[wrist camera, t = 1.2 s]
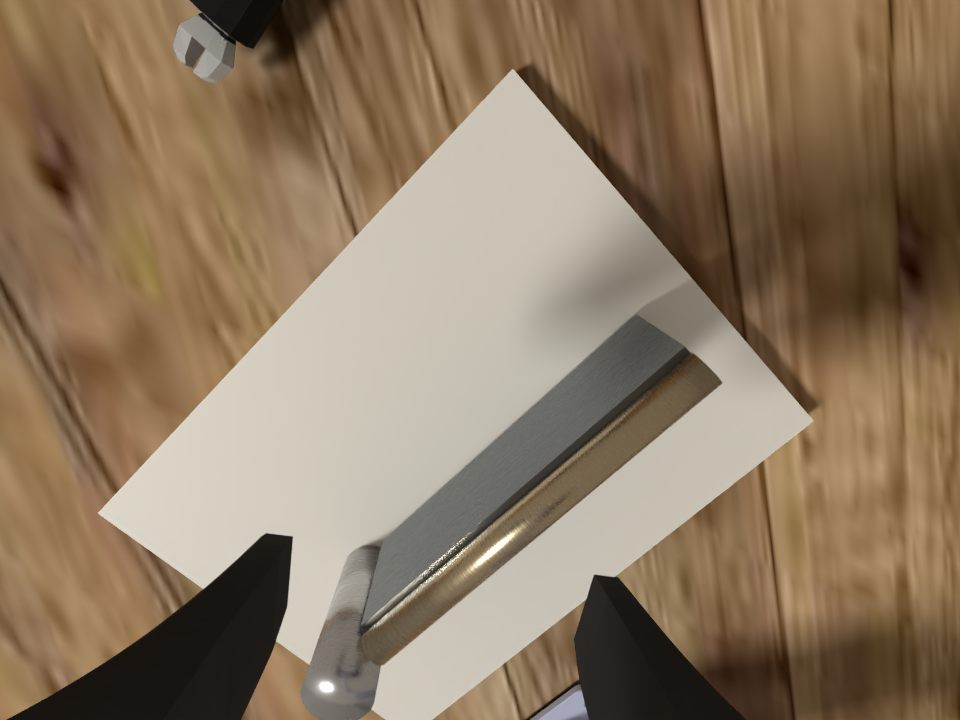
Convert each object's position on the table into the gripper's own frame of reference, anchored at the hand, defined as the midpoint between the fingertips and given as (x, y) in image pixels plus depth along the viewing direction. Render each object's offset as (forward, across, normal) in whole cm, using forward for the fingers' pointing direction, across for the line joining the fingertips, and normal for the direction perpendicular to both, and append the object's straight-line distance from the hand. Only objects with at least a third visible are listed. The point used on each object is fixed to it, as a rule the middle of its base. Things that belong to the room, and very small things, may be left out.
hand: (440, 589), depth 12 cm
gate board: (+10, 0, +2) cm, 10 cm away
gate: (+9, -3, +1) cm, 9 cm away
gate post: (+10, +2, +8) cm, 13 cm away
